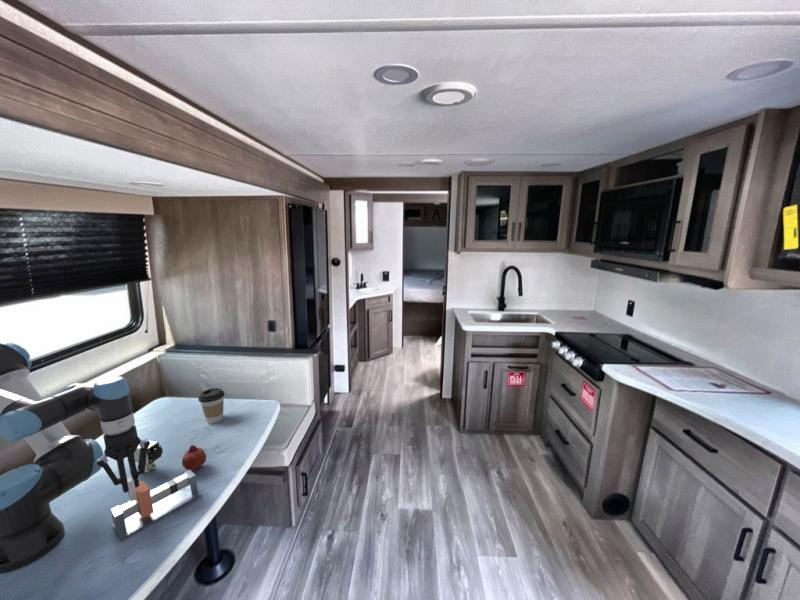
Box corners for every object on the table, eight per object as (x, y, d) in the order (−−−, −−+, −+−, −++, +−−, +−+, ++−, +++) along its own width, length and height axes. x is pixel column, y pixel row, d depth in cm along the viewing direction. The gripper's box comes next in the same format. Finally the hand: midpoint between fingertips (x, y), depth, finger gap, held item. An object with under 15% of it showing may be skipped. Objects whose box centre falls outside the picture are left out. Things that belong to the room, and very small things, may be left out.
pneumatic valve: (155, 475, 127) (150, 447, 125) (130, 471, 129) (125, 443, 127) (168, 466, 132) (163, 438, 130) (143, 462, 134) (138, 435, 132)
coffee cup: (212, 413, 172) (208, 386, 169) (232, 414, 170) (229, 387, 168) (196, 425, 161) (192, 396, 158) (217, 427, 159) (213, 397, 157)
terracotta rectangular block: (142, 518, 103) (137, 494, 102) (136, 508, 107) (131, 485, 106) (153, 512, 106) (149, 489, 104) (147, 503, 109) (143, 480, 108)
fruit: (181, 478, 125) (177, 454, 123) (185, 465, 132) (182, 442, 130) (206, 472, 128) (202, 448, 126) (208, 459, 135) (205, 437, 133)
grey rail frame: (120, 542, 98) (116, 520, 97) (112, 526, 104) (108, 505, 102) (200, 496, 115) (198, 477, 114) (190, 485, 121) (187, 467, 120)
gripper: (93, 443, 92) (108, 517, 96) (149, 423, 102) (161, 491, 106) (87, 434, 97) (103, 505, 101) (142, 415, 106) (154, 481, 111)
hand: (133, 498), depth 103 cm, fingers closed
